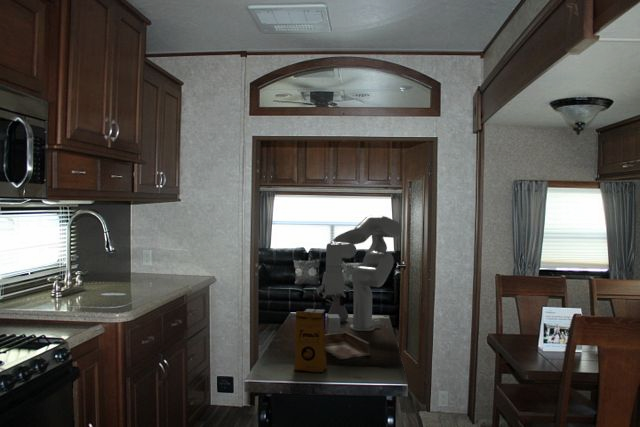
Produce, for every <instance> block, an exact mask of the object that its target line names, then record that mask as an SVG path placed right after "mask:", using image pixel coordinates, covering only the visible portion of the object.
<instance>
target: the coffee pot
mask: <svg viewBox="0 0 640 427" xmlns="http://www.w3.org/2000/svg"><path fill="white" fill-rule="evenodd" d="M312 295H314V296H316V297H318V298H320V296H319V295H318V293H317V294H316V292H313V291H311V292H310V294H309V296H312ZM340 297H341V295H340V296H338V295H337V296H332V297H331V298H332V301H331V300H330V299H327V298H325V299H326V302H329V303H331V306H330V308H329V311H328V312H327V314H338V315H339V317H340V322H342V323H345V322H346V321H347V320H348V318H349V314H348V311H347V309H346V306H345V305H344V306H341V305H340ZM320 299H321V298H320Z"/></svg>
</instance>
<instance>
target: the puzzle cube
mask: <svg viewBox="0 0 640 427" xmlns="http://www.w3.org/2000/svg"><path fill="white" fill-rule="evenodd" d="M303 312H319V313H323V317H324V330H327V312H326V309H316V308H306V309H305V310H304V311H303Z"/></svg>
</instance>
